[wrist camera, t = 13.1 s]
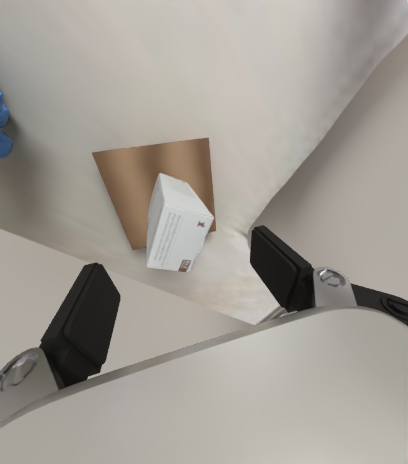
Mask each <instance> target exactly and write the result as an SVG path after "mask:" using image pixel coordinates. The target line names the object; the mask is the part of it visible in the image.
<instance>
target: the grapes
mask: <svg viewBox="0 0 408 464" xmlns="http://www.w3.org/2000/svg"><path fill="white" fill-rule="evenodd" d="M8 118H9V110H8V109H7V108H6V107H5V106H4V105H3V94H2V93H1V92H0V127H3V126H4V125H5V124H6V123H7V122H8ZM12 146H13V142H12V140H11V138H10V137H9V136H8V135H7V134H6V133H4V132H3V131H2V130H0V158H3V157H7V155H8V154H9V153H10V152H11V150H12Z"/></svg>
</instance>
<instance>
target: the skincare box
mask: <svg viewBox="0 0 408 464" xmlns="http://www.w3.org/2000/svg"><path fill="white" fill-rule="evenodd" d="M213 220H214V217H213V215H212V214H211V213H210V212H209V210H208V209H207V208H206V206H205V205H204V204H203V202H202V201H201V200H200V198H199V197H198V196H197V195H196V193H195V192H194V191H193V189H192V188H191V187H190V185H189V184H188V183H187V182H184V181H182V180H179V179H176V178H173V177H171V176H168V175H165V174H162V173H159V175H158V177H157V180H156V183H155V186H154V190H153V193H152V197H151V201H150V205H149V210H148V227H147V257H146V267H147V268H155V269H163V270H172V271H182V272H190V271H191V269H192V266H193V264H194V262H195V260H196V257H197V256H198V255H199V253H200V252H201V250H202V248H203V245H204V242H205V238H206V236H207V233H208V231H209V229H210V226H211V224H212V222H213Z"/></svg>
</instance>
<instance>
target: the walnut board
mask: <svg viewBox="0 0 408 464" xmlns="http://www.w3.org/2000/svg"><path fill="white" fill-rule="evenodd" d="M92 154H93V157H94V159H95V162H96V164H97V166H98V169H99V171H100V173H101V176H102V178H103V181H104V183H105V185H106V188H107V190H108V193H109V195H110V197H111V200H112V202H113V204H114V207H115V209H116V212H117V214H118V216H119V219H120V221H121V224H122V226H123V228H124V231H125V233H126V235H127V238H128V240H129V243H130V245H131V247H132V250H136V249H140V248H144V247H147V227H148V210H149V205H150V201H151V197H152V193H153V190H154V186H155V183H156V180H157V177H158V175H159V173H162V174H165V175H168V176H171V177H173V178H176V179H179V180H182V181H184V182H187V183H188V184H189V185H190V187H191V188H192V189H193V191H194V192H195V193H196V195H197V196H198V197H199V198H200V200H201V201H202V202H203V204H204V205H205V206H206V208H207V209H208V210H209V212H210V213H211V214H212V215H213V217H214V220H213V222H212V224H211V226H210V229H209V231H208V233H209V232H213V231H216V222H215V210H214V198H213V186H212V173H211V161H210V149H209V138H202V139H194V140H186V141H179V142H171V143H163V144H155V145H147V146H140V147H132V148H124V149H116V150H109V151H101V152H94V153H92Z"/></svg>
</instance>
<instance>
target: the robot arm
mask: <svg viewBox="0 0 408 464" xmlns="http://www.w3.org/2000/svg"><path fill="white" fill-rule="evenodd" d="M250 263H251V265H252V267H253V268H254V270H255V271H256V272H257V274H258V275H259V277H260V278H261V279H262V281H263V282H264V284H265V285H266V286H267V288H268V289H269V290H270V292H271V293H272V295H273V296H274V297H275V299H276V300H277V302H278V303H279V304H280V306H281V307H283V308H285V309H286V310H287V312H288V313H289V312H292V311H295V310H297V311H298V312H296V313H293V314H290V315H286V316H283V317H279V318H276V319H273V320H270V321H267V322H263V323H260V324H257V325H254V326H251V327H248V328H245V329H241V330H238V331H235V332H232V333H229V334H226V335H223V336H219V337H216V338H213V339H210V340H207V341H204V342H200V343H197V344H194V345H191V346H188V347H185V348H182V349H179V350H176V351H173V352H170V353H166V354H163V355H160V356H157V357H154V358H151V359H148V360H145V361H142V362H139V363H136V364H133V365H130V366H127V367H124V368H121V369H117V370H114V371H111V372H109V373H106V374H103V375H100V376H97V377H94V378H91V379H88V380H87V378H88V376H91V375H94V374H97V373H100V370H101V366H102V364H104V363H105V361H106V357H107V353H108V349H109V345H110V340H111V337H112V332H113V328H114V324H115V320H116V316H117V312H118V307H119V303H120V294H119V292H118V290H117V289H116V287H115V285H114V284H113V282H112V280H111V278H110V277H109V275H108V273H107V272H106V270H105V268H104V267H103V265H102V264H98V263H92V264H88V265H85V266H84V267H83V269H82V271H81V272H80V274H79V276H78V277H77V279H76V281H75V282H74V284H73V286H72V288H71V289H70V291H69V293H68V294H67V296H66V298H65V300H64V301H63V303H62V305H61V307H60V308H59V310H58V312H57V313H56V315H55V317H54V318H53V320H52V322H51V324H50V325H49V327H48V329H47V330H46V332H45V334H44V336H43V337H42V339H41V342H42V343H41V345H40V346H39V348H37V347H36V348H31V349H28V350H26V351H24V352H22V353H21V354H19V355H17V356H16V357H15V358H13V359H12V360H11V361H10V362H9V363H7V364H6V365H5V367H3V369H2V370H1V371H0V464H408V301H406V300H404V299H402V298H400V297H397V296H394V295H390V294H387V293H383V292H380V291H376V290H373V289H369V288H365V287H362V286H358V285H354V284H351V283H350V281H349V280H348V278H347V277H346V276H345V275H344V274H342V273H341V272H339V271H337V270H335V269H332V268H328V267H319V268H316V269H314V268H312V265H311V264H310V263H308V262H307V261H306V260H304V259H303V258H302V257H301V256H300V255H299V254H298V253H296V252H295V251H294V250H293V249H292V248H290V247H289V246H288V245H287V244H286V243H284V242H283V241H282V240H281V239H280V238H278V237H277V236H276V235H275V234H274V233H272V232H271V231H270V230H269V229H268V228H267V227H265V226H263V225H262V226H258V227H255V228H254V230H252V237H251V252H250Z"/></svg>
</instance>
